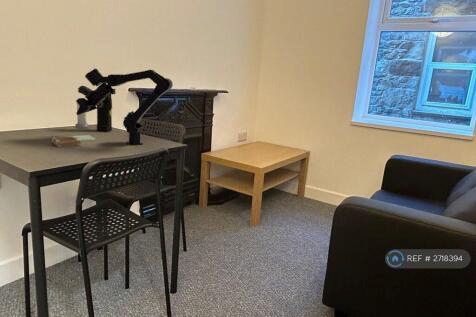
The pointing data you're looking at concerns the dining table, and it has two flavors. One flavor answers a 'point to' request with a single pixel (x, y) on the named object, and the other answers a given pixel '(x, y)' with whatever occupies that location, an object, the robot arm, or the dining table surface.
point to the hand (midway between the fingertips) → (79, 113)
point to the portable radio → (105, 115)
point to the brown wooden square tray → (66, 141)
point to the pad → (84, 137)
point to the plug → (81, 120)
